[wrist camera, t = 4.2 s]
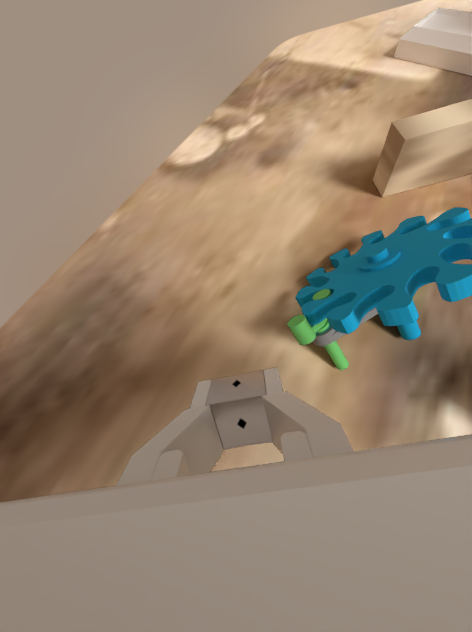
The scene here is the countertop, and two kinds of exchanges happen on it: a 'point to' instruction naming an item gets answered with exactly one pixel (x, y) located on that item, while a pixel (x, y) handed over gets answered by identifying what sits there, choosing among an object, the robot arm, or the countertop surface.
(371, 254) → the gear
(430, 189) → the countertop surface
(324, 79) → the countertop surface
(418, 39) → the soap bar
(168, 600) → the robot arm
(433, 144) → the carrier pocket
